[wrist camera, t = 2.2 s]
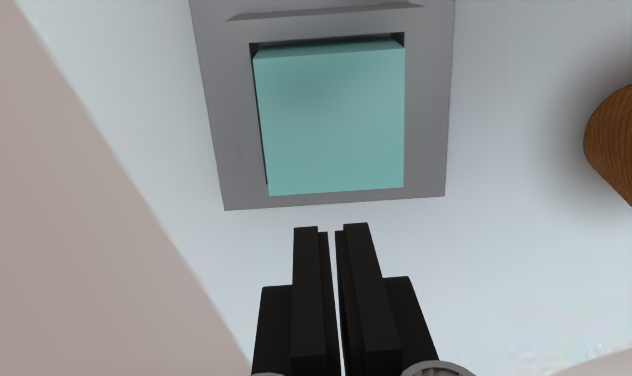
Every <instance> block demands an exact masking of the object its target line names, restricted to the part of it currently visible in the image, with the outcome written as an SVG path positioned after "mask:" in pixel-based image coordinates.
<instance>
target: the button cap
mask: <svg viewBox="0 0 632 376" xmlns="http://www.w3.org/2000/svg"><path fill="white" fill-rule="evenodd" d="M253 66H254V74H255V82H256V91H257V99H258V107H259V115H260V123H261V131H262V140H263V148H264V156H265V164H266V172H267V180H268V188H269V196H280V195H295V194H310V193H325V192H340V191H355V190H370V189H385V188H400V187H403V179H404V94H405V48H404V47H403V46H401V45H400V44H399V43H397V42H396V41H395V40H393V39H392V38H391V37H381V38H367V39H353V40H340V41H326V42H312V43H298V44H285V45H271V46H262V47H261V48H260V49H259V51H258V52H257V54H256V55H255V57H254V58H253Z"/></svg>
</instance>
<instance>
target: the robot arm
mask: <svg viewBox="0 0 632 376" xmlns="http://www.w3.org/2000/svg"><path fill="white" fill-rule="evenodd" d="M335 246H336V263H337V280H338V296H339V313H340V329H341V340H342V349H343V358H344V367H345V376H476V375H474V374H473V373H471V372H470V371H468V370H467V369H465V368H464V367H461V366H459V365H456V364H454V363H451V362H445V361H440V360H439V358H438V355H437V352H436V349H435V347H434V344H433V341H432V338H431V336H430V333H429V330H428V327H427V325H426V322H425V319H424V316H423V314H422V311H421V308H420V305H419V303H418V300H417V297H416V294H415V292H414V289H413V286H412V283H411V281H410V279H409V277H408V276H402V277H389V278H383V277H382V274H381V270H380V266H379V263H378V259H377V256H376V252H375V248H374V245H373V241H372V237H371V234H370V230H369V226H368V223H367V222H365V223H352V224H344V225H343V230H342V231H335ZM251 376H341V362H340V350H339V339H338V329H337V320H336V310H335V301H334V291H333V281H332V272H331V262H330V253H329V243H328V233H327V232H318V226H312V227H298V228H294V245H293V279H292V285H281V286H267V287H263V288H262V293H261V301H260V309H259V316H258V324H257V332H256V340H255V348H254V356H253V364H252V372H251Z"/></svg>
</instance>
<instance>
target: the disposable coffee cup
mask: <svg viewBox="0 0 632 376" xmlns="http://www.w3.org/2000/svg"><path fill="white" fill-rule="evenodd" d="M584 151H585V155H586V157H587V160H588V162H589V163H590V164H591V166H592V167H593V168H594V169H595V170H596V171H597V172H598V173H599V174H600V175H601V176H602V177H603V178H604V179H605V180H606V181H607V182H608V183H609V184H610V185H611V186H612V187H613V188H614V189H615V190H616V191H617V192H618V193H619V194H620V195H621V196H622V197H623V199H624V200H626V201H627V203H628V204H629V205H630V206H631V207H632V85H630V86H627V87H625V88H623V89H621V90H619V91H617V92H615V93H614V94H613V95H612V96H610V97H609V98H608V99H606V100H605V101H604V102H603V103H602V104H601V105H600V106H599V108H598V109H597V110H596V111H595V113H594V114H593V115H592V117H591V119H590V121H589V123H588V125H587V128H586V131H585V136H584Z"/></svg>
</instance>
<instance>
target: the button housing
mask: <svg viewBox="0 0 632 376" xmlns="http://www.w3.org/2000/svg"><path fill="white" fill-rule="evenodd" d="M189 4H190V10H191V16H192V22H193V28H194V34H195V40H196V46H197V51H198V57H199V63H200V69H201V75H202V81H203V87H204V93H205V98H206V104H207V110H208V116H209V122H210V128H211V134H212V140H213V145H214V151H215V157H216V163H217V169H218V175H219V181H220V187H221V192H222V198H223V204H224V210H225V211H229V210H244V209H259V208H275V207H290V206H305V205H320V204H335V203H350V202H365V201H380V200H396V199H411V198H426V197H441V196H445V181H446V163H447V144H448V125H449V106H450V88H451V69H452V50H453V32H454V13H455V0H189ZM381 37H391V38H392V39H393V40H395V41H396V42H397V43H399V44H400V45H401V46H403V47H404V48H405V94H404V179H403V187H400V188H385V189H370V190H355V191H340V192H325V193H310V194H295V195H280V196H269V188H268V180H267V172H266V164H265V156H264V148H263V140H262V131H261V123H260V115H259V107H258V99H257V91H256V82H255V74H254V66H253V58H254V57H255V55H256V54H257V52H258V51H259V49H260V48H261V47H262V46H271V45H285V44H298V43H312V42H326V41H340V40H353V39H367V38H381Z"/></svg>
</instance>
